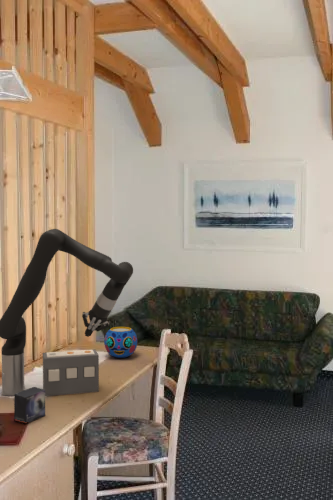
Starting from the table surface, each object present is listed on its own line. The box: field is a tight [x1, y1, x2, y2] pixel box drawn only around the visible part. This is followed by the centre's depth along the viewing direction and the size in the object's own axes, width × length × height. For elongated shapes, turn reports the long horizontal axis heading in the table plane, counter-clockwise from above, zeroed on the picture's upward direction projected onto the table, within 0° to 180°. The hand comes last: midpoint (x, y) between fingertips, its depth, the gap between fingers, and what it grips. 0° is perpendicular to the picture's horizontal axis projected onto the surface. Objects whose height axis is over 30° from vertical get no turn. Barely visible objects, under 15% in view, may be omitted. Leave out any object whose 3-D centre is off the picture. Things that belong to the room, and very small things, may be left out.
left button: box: [48, 368, 59, 381], centre depth 239 cm, size 4×3×4 cm
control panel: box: [42, 349, 100, 397], centre depth 246 cm, size 23×10×17 cm, turn 105°
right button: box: [84, 366, 95, 377], centre depth 244 cm, size 4×3×4 cm
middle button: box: [66, 367, 77, 379], centre depth 242 cm, size 4×3×4 cm
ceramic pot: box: [103, 326, 138, 359], centre depth 300 cm, size 18×18×15 cm
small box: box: [13, 386, 46, 424], centre depth 214 cm, size 11×6×10 cm, turn 148°
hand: (86, 335), depth 241 cm, fingers closed
